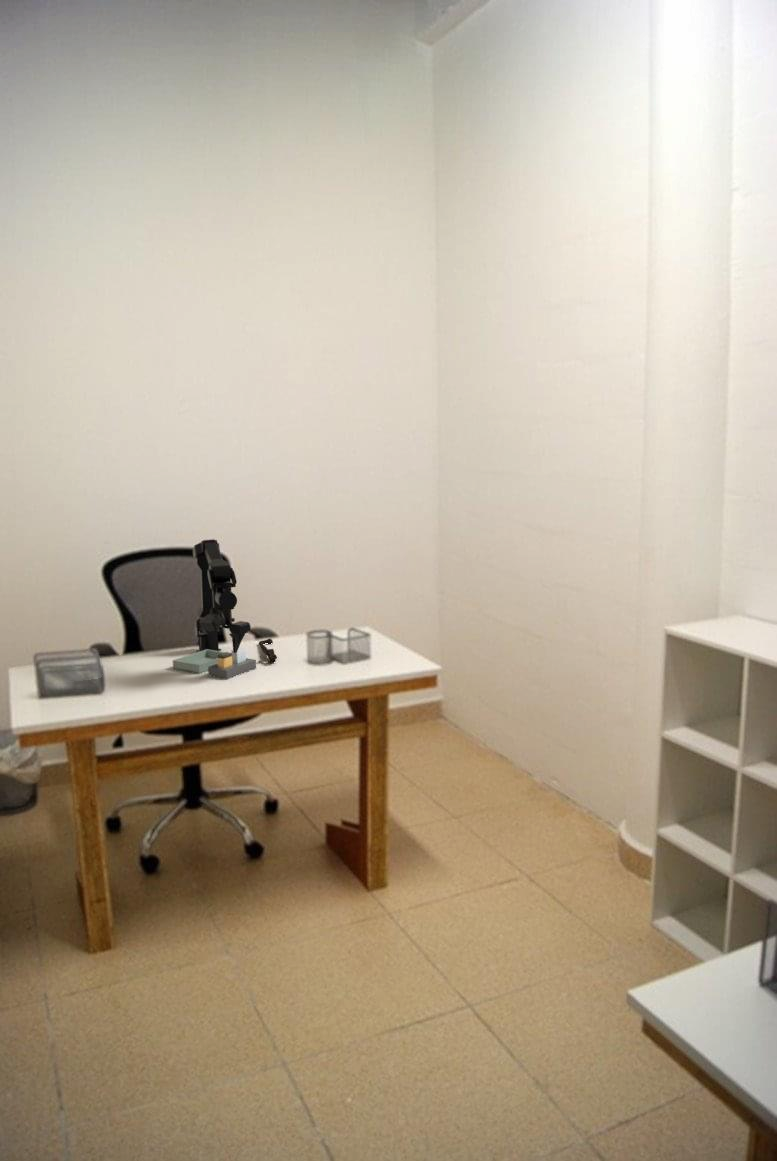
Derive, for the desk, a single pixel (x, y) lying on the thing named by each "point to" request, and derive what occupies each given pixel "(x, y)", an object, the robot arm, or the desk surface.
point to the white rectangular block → (239, 655)
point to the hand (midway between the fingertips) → (224, 650)
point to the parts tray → (197, 661)
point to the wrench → (268, 650)
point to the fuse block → (232, 669)
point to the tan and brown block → (225, 660)
